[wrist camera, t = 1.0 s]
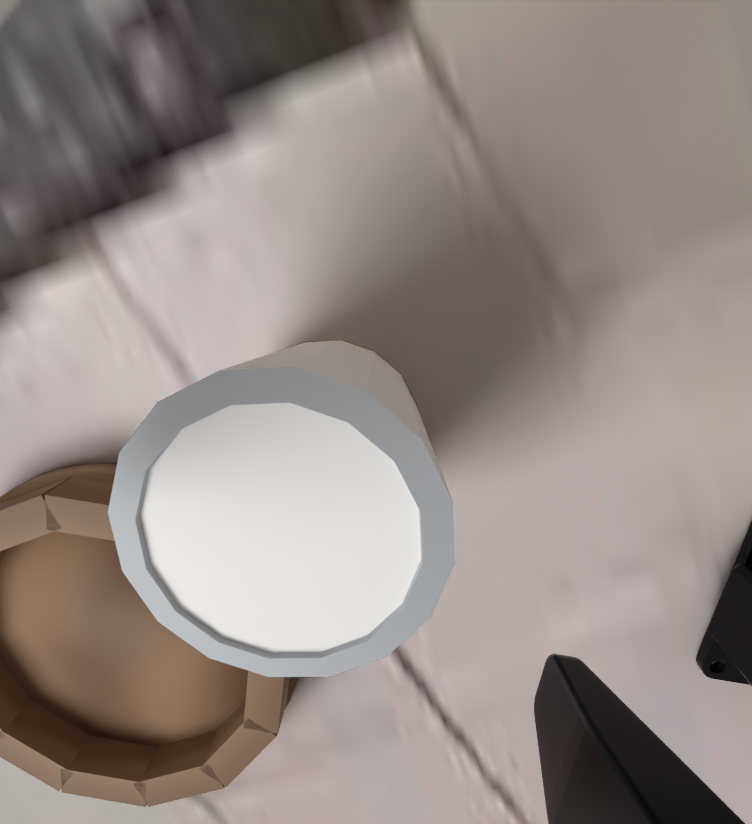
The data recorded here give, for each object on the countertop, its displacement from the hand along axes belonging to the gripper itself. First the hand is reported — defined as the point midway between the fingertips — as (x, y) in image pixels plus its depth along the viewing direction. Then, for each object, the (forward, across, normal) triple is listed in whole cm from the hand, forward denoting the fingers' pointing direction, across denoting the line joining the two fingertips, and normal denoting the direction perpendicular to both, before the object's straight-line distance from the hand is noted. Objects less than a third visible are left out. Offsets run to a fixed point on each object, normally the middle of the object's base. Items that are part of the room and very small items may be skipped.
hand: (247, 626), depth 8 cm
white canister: (+10, 0, 0) cm, 10 cm away
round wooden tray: (+9, +7, +9) cm, 14 cm away
